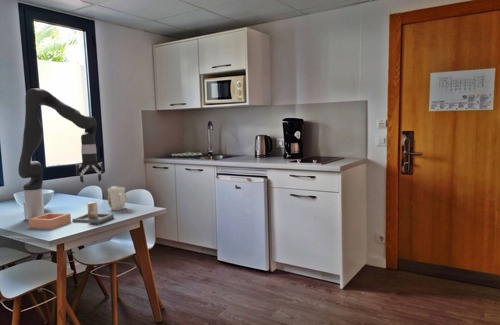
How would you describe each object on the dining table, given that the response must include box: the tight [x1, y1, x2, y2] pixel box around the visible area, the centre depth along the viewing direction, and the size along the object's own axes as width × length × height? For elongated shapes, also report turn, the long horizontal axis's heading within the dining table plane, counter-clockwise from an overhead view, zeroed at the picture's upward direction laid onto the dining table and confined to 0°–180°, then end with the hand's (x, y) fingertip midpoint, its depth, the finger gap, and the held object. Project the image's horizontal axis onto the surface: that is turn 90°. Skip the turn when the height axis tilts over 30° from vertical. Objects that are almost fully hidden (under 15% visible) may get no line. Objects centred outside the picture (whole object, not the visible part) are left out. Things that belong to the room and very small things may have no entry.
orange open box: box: [27, 212, 72, 230], centre depth 199 cm, size 14×14×6 cm
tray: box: [71, 212, 115, 226], centre depth 209 cm, size 16×14×2 cm
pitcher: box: [107, 185, 127, 211], centre depth 236 cm, size 11×18×14 cm, turn 36°
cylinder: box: [86, 201, 99, 219], centre depth 208 cm, size 5×5×9 cm
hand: (91, 181), depth 207 cm, fingers open, 8 cm apart
